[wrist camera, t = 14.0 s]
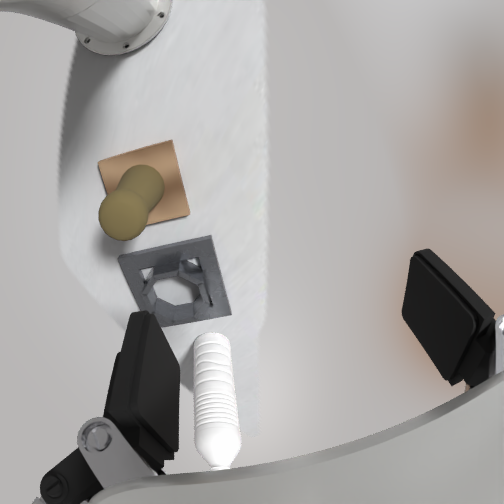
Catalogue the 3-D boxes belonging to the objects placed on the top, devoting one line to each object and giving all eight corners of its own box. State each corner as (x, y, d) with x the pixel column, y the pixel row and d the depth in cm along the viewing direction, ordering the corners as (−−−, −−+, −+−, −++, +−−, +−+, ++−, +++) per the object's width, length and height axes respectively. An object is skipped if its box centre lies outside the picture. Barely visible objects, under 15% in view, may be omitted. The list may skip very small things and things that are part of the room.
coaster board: (100, 160, 34) (97, 162, 33) (172, 139, 35) (171, 140, 34) (122, 228, 39) (120, 231, 38) (190, 211, 40) (189, 214, 39)
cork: (130, 215, 38) (107, 257, 28) (112, 174, 35) (80, 205, 25) (171, 200, 37) (159, 238, 28) (154, 157, 34) (133, 181, 25)
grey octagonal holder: (119, 255, 41) (113, 268, 38) (211, 235, 42) (211, 247, 39) (150, 325, 48) (148, 339, 45) (231, 310, 49) (232, 325, 46)
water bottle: (189, 334, 50) (189, 470, 29) (226, 328, 51) (242, 466, 29) (201, 365, 55) (206, 487, 33) (234, 360, 55) (251, 482, 33)
